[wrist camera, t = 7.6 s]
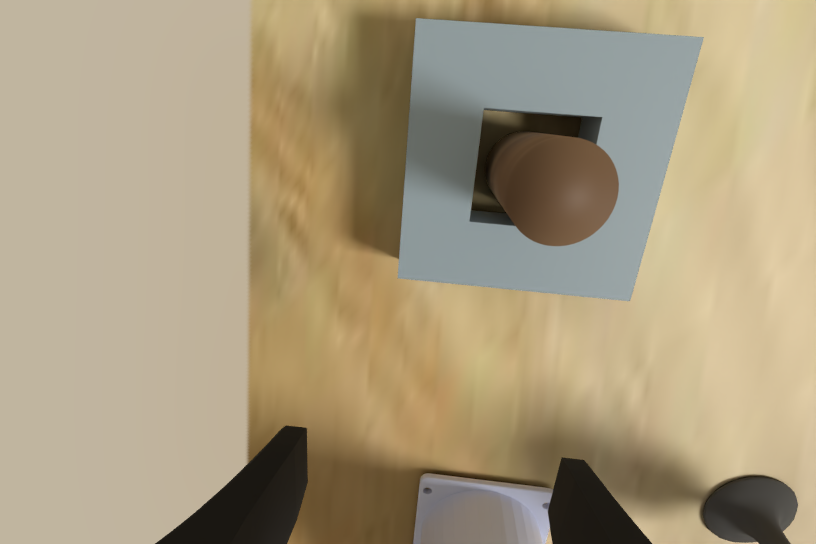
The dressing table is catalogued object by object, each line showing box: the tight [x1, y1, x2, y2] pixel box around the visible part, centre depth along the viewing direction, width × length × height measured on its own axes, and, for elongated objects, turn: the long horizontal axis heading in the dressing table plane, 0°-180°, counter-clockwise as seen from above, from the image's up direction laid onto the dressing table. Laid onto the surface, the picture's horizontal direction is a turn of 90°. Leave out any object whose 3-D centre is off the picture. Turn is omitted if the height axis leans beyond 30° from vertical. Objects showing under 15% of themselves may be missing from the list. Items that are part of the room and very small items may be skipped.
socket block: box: [398, 18, 704, 301], centre depth 18 cm, size 10×10×2 cm
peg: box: [485, 131, 619, 246], centre depth 16 cm, size 3×3×7 cm
